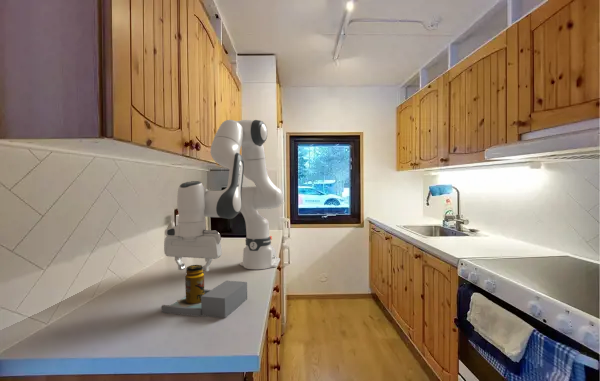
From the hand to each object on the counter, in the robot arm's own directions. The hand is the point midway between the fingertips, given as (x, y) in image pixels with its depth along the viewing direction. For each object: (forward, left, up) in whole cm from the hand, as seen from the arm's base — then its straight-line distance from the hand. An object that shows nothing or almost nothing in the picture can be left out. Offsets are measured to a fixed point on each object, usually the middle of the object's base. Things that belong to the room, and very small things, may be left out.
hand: (193, 270), depth 106 cm
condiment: (0, 0, -11) cm, 11 cm away
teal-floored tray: (+1, +5, -11) cm, 12 cm away
